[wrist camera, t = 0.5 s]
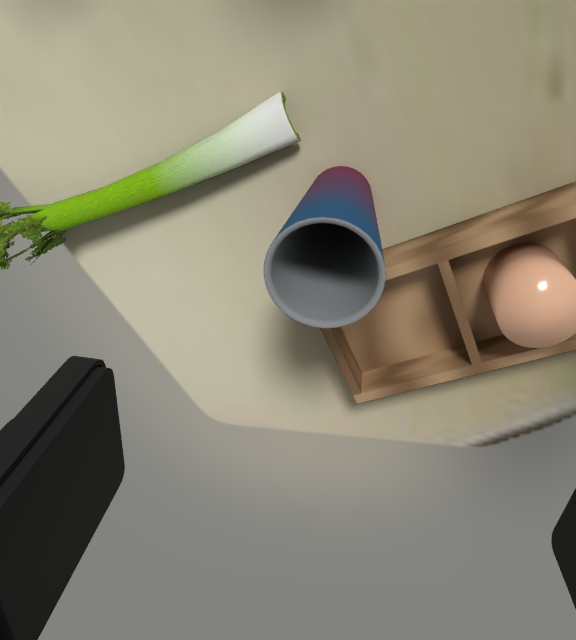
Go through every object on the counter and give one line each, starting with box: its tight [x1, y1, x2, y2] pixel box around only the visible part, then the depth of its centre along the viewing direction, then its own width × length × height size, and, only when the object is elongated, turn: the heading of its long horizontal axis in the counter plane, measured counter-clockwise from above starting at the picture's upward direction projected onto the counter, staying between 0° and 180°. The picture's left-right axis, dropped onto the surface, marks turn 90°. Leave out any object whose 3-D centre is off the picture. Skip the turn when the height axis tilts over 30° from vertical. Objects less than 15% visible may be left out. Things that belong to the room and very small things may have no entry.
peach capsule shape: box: [483, 242, 576, 348], centre depth 38 cm, size 6×6×6 cm
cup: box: [264, 166, 386, 328], centre depth 34 cm, size 7×7×15 cm
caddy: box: [321, 182, 576, 403], centre depth 41 cm, size 22×12×4 cm, turn 115°
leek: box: [0, 91, 301, 269], centre depth 41 cm, size 6×7×30 cm
